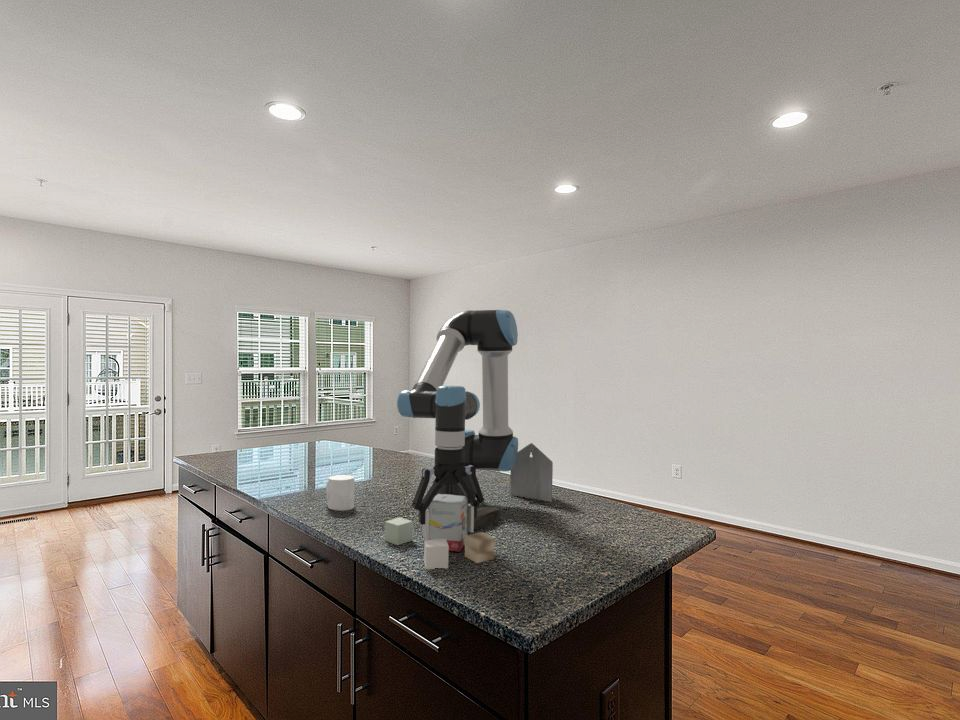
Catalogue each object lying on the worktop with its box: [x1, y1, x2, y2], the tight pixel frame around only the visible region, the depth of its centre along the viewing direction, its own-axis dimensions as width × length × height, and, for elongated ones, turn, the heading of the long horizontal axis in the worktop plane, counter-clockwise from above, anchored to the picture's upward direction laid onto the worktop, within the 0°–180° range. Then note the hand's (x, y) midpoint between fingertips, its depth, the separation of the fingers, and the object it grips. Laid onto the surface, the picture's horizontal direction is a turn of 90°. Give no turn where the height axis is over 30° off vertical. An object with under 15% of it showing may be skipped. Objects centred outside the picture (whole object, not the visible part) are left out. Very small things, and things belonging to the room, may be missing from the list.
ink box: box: [428, 494, 469, 553], centre depth 127 cm, size 9×9×12 cm
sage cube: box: [384, 516, 414, 546], centre depth 131 cm, size 5×5×5 cm
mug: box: [325, 474, 356, 511], centre depth 163 cm, size 12×9×8 cm
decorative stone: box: [474, 506, 503, 530], centre depth 146 cm, size 17×6×4 cm, turn 138°
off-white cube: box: [423, 539, 450, 570], centre depth 115 cm, size 5×5×5 cm
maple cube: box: [464, 532, 495, 564], centre depth 120 cm, size 5×5×5 cm
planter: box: [509, 442, 554, 503], centre depth 180 cm, size 16×8×19 cm, turn 58°
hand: (448, 533), depth 127 cm, fingers closed on ink box, 11 cm apart
